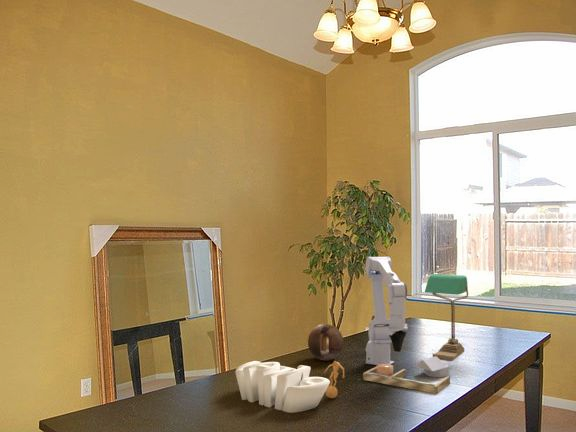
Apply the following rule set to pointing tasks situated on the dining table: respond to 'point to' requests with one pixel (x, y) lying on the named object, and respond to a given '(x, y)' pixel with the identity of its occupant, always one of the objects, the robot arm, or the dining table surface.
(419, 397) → the dining table surface
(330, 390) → the figurine
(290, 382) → the white wavy slab sculpture
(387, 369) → the tan smooth rounded piece
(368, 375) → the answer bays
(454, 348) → the banker's lamp
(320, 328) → the wooden sphere
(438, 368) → the wedge on round base
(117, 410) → the dining table surface
